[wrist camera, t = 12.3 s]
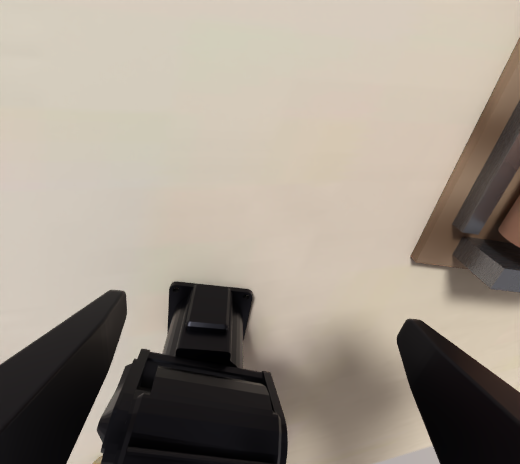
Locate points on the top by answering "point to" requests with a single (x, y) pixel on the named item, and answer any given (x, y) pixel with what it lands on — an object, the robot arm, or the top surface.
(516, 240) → the roll
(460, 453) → the robot arm
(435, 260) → the roll cradle
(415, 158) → the top surface
